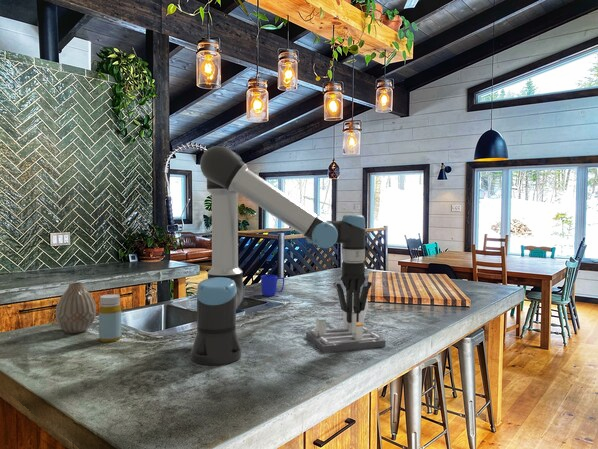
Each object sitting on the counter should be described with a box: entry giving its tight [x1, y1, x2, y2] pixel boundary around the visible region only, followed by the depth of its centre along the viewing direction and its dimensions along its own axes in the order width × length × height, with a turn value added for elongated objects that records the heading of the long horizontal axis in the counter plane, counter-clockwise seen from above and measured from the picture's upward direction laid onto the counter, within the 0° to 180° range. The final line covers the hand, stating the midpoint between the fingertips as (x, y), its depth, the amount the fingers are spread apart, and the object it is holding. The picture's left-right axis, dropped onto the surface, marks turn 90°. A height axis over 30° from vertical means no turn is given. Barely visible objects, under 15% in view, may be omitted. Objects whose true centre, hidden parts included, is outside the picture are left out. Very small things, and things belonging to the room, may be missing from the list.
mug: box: [260, 274, 285, 297], centre depth 227 cm, size 8×12×10 cm
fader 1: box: [315, 317, 327, 334], centre depth 154 cm, size 2×3×5 cm
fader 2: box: [352, 322, 364, 340], centre depth 149 cm, size 2×3×5 cm
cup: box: [342, 295, 369, 328], centre depth 165 cm, size 9×9×12 cm
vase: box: [55, 281, 97, 334], centre depth 161 cm, size 13×13×18 cm
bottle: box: [98, 293, 123, 343], centre depth 151 cm, size 7×7×15 cm
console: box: [305, 326, 386, 353], centre depth 152 cm, size 22×18×3 cm
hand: (352, 331), depth 148 cm, fingers closed
